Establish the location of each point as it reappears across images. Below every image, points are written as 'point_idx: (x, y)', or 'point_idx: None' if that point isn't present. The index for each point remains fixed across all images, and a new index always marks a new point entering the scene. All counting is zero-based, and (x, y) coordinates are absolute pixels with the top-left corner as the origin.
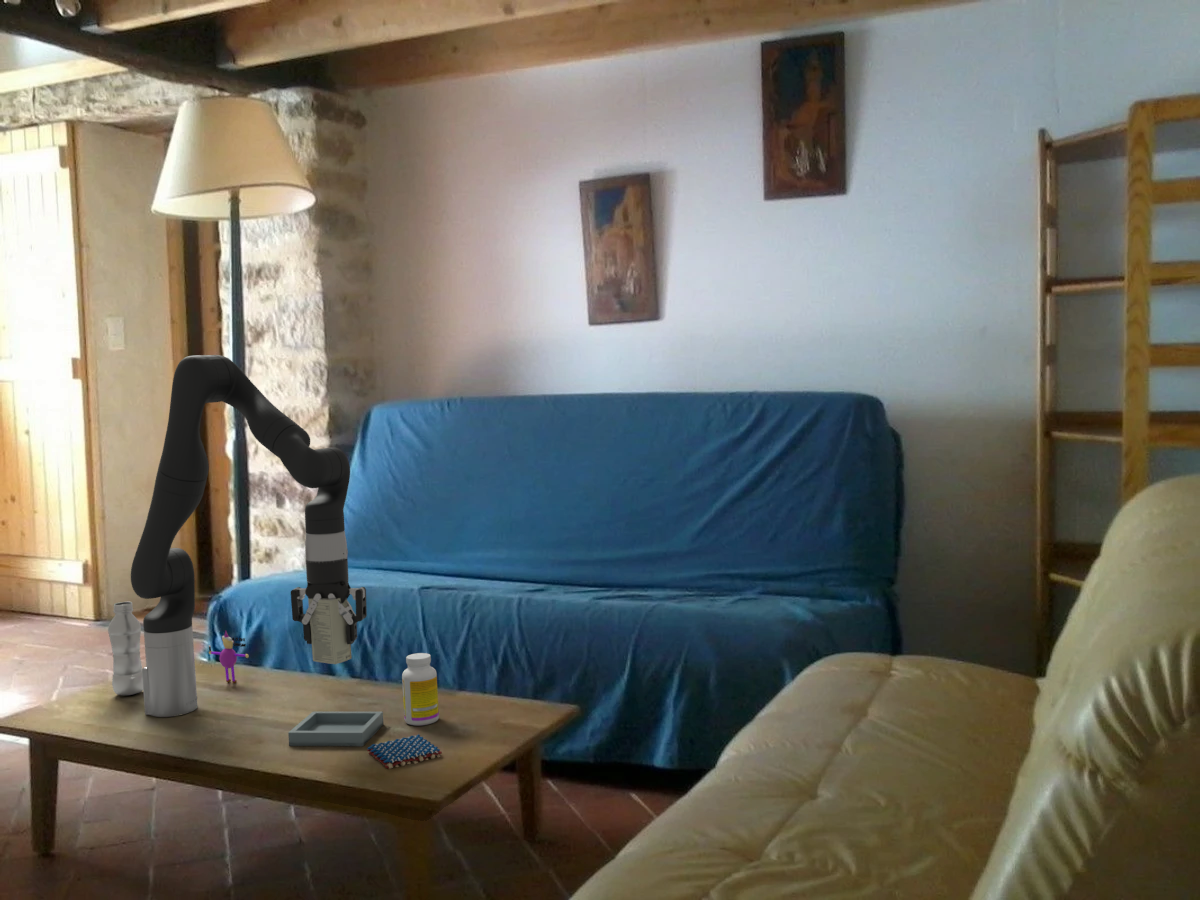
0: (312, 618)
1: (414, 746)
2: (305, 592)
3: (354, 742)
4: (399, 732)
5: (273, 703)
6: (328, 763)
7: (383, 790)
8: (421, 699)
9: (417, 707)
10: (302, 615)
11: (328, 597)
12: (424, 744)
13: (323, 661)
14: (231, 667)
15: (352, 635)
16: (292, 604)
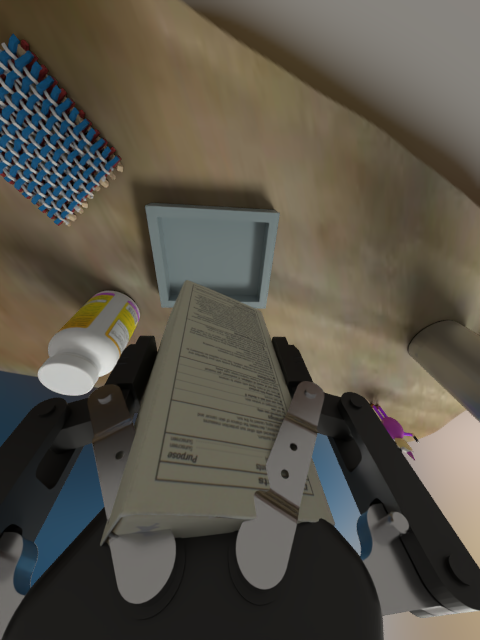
0: (281, 404)
1: (21, 155)
2: (371, 581)
3: (164, 204)
4: (124, 266)
5: (326, 360)
6: (173, 100)
7: None
8: (82, 310)
9: (95, 302)
10: (329, 421)
11: (173, 546)
12: (2, 160)
13: (228, 297)
14: (383, 418)
15: (127, 357)
16: (407, 470)
